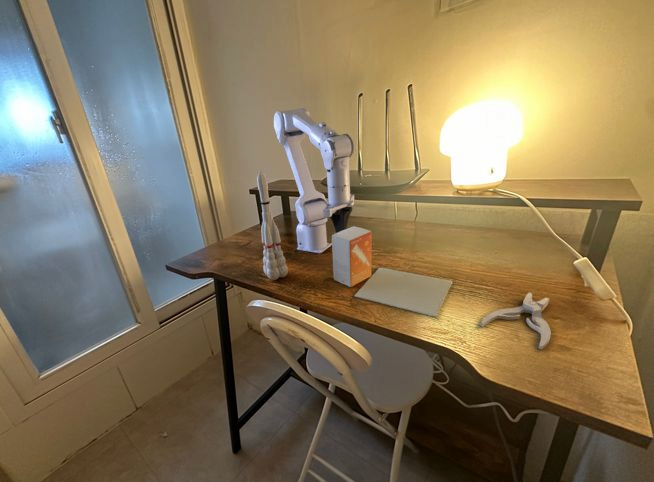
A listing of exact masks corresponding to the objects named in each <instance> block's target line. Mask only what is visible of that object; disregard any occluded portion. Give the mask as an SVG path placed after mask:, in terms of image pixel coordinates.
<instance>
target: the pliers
mask: <svg viewBox="0 0 654 482" xmlns="http://www.w3.org/2000/svg"><path fill="white" fill-rule="evenodd" d="M549 302H550V298H549V297H544V298H542V299H540V300H538V301H534V300H533V292H527V294H526V295H525V297H524V299H523V302H522V305H519V306H517V307H509V308H500V309H496V310H493V311H492V312H490V313H488V314H486V315H485V316H484V317H483V318H482V320H481V322H480V325H479V326H480V327H482V328H484V327H486V325H488V324H489V323H491V322H493V321H495V320H497V319H498V320H507V321H512V320H519V319H521V314H523V313H525V314H531V319H530V318H529V317H526V319H525V322H526V324H527V325H528V326H529V327H530V328H531V329H533V330H534V331H535V332H538V334H540V340H539V344H538V347H537V349H539V350H543V349H544V348H546V346H548V344H549V342H550V339H551V336H552V332H551V327H550V325H549V324H548V322H547V321H546V320H545V319H544V318H543V315H542V312H543V311H544V310H545V308H546V307H547V306H548V305H549Z"/></svg>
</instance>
